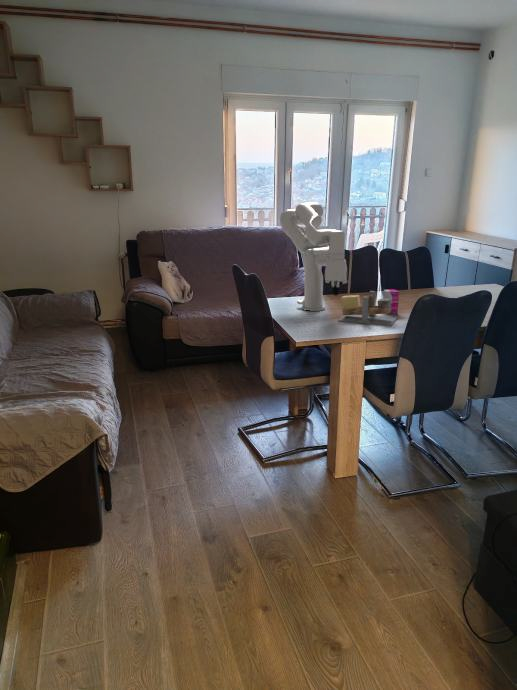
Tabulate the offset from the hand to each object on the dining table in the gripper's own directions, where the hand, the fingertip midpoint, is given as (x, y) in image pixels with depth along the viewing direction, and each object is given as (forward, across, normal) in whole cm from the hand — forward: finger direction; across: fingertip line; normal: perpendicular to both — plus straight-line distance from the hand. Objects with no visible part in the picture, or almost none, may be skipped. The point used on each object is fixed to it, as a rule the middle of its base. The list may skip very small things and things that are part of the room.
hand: (336, 294), depth 250 cm
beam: (+8, +15, +1) cm, 17 cm away
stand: (+11, +16, 0) cm, 20 cm away
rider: (+7, +8, 0) cm, 11 cm away
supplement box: (+12, +23, +18) cm, 32 cm away
